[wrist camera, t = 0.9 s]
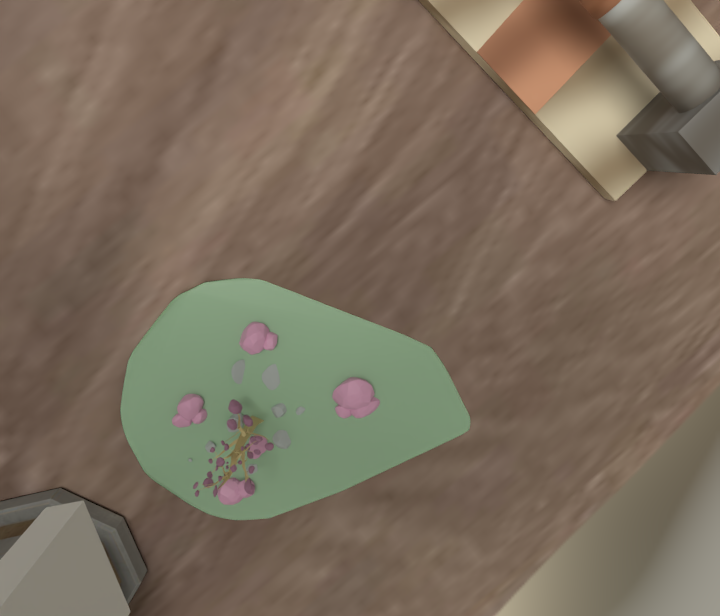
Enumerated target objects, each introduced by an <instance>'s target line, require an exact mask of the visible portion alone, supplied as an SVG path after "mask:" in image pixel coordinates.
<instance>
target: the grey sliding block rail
mask: <svg viewBox="0 0 720 616" xmlns="http://www.w3.org/2000/svg"><path fill="white" fill-rule="evenodd" d="M419 1H420V3H421V4H422V5H423V6H424V7H425V8H426V9H427V10H428V11H429V12H430V13H431V14H432V15H433V16H434V17H435V19H436V20H437V21H438V22H439V23H440V24H441V25H442V26H443V27H444V28H445V29H446V30H447V31H448V32H449V33H450V34H451V36H452V37H453V38H454V39H455V40H456V41H457V42H458V43H459V44H460V45H461V46H462V47H463V48H464V49H465V50H466V51H467V53H468V54H469V55H470V56H471V57H472V58H473V59H474V60H475V61H476V62H477V63H478V64H479V65H480V66H481V67H482V69H483V70H484V71H485V72H486V73H487V74H488V75H489V76H490V77H491V78H492V79H493V80H494V81H495V82H496V83H497V84H498V86H499V87H500V88H501V89H502V90H503V91H504V92H505V93H506V94H507V95H508V96H509V97H510V98H511V99H512V100H513V101H514V103H515V104H516V105H517V106H518V107H519V108H520V109H521V110H522V111H523V112H524V113H525V114H526V115H527V116H528V117H529V119H530V120H531V121H532V122H533V123H534V124H535V125H536V126H537V127H538V128H539V129H540V130H541V131H542V132H543V133H544V134H545V136H546V137H547V138H548V139H549V140H550V141H551V142H552V143H553V144H554V145H555V146H556V147H557V148H558V149H559V150H560V151H561V153H562V154H563V155H564V156H565V157H566V158H567V159H568V160H569V161H570V162H571V163H572V164H573V165H574V166H575V167H576V169H577V170H578V171H579V172H580V173H581V174H582V175H583V176H584V177H585V178H586V179H587V180H588V181H589V182H590V183H591V184H592V186H593V187H594V188H595V189H596V190H597V191H598V192H599V193H600V194H601V195H602V196H603V197H604V198H605V199H608V200H614V201H616V200H617V199H618V198H619V197H620V196H621V195H622V194H623V193H624V192H625V191H627V190H628V189H629V188H630V187H631V186H632V185H633V184H634V183H635V182H636V181H637V180H638V179H639V178H640V177H641V176H642V175H643V174H644V173H645V172H646V171H647V170H649V171H664V172H679V173H694V174H709V175H716V174H717V173H718V172H719V171H720V36H719V35H718V34H717V32H716V31H715V30H714V29H713V28H712V26H711V25H710V24H709V23H708V21H707V20H706V19H705V18H704V16H703V15H702V14H701V13H700V12H699V10H698V9H697V8H696V7H695V5H694V4H693V3H692V2H691V0H419Z"/></svg>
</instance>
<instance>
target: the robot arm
mask: <svg viewBox="0 0 720 616" xmlns="http://www.w3.org/2000/svg"><path fill="white" fill-rule="evenodd" d="M130 612H131V611H130V609H129V606H128V604H127V602H126V599H125V597H124V595H123V592H122V590H121V588H120V585H119V583H118V581H117V578H116V576H115V573H114V571H113V569H112V566H111V564H110V562H109V559H108V557H107V555H106V552H105V550H104V548H103V545H102V543H101V540H100V538H99V536H98V533H97V531H96V529H95V526H94V524H93V522H92V519H91V517H90V515H89V512H88V510H87V507H86V505H85V503H84V500H83V501H78V502H72V503H67V504H62V505H56V506H51V507H46V508H45V509H44V510H43V511H42V512H41V514H40V515H39V516H38V517H37V518H36V519H35V520H34V522H33V523H32V524H31V525H30V526H29V527H28V529H27V530H26V531H25V532H24V533H23V534H22V535H21V537H20V538H19V539H18V540H17V541H16V542H15V544H14V545H13V546H12V547H11V548H10V549H9V550H8V552H7V553H6V554H5V555H4V556H3V557H2V558H1V560H0V616H129V614H130Z"/></svg>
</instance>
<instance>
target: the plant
mask: <svg viewBox="0 0 720 616" xmlns="http://www.w3.org/2000/svg"><path fill="white" fill-rule="evenodd" d="M120 412H121V420H122V425H123V430H124V433H125V436H126V438H127V440H128V442H129V445H130V447H131V449H132V450H133V452H134V454H135V456H136V458H137V460H138V461H139V463H140V465H141V467H142V469H143V470H144V472H145V473H146V474H147V475H148V476H149V477H150V478H151V479H153V480H154V481H155V482H157V483H158V484H160V485H161V486H163V487H164V488H166V489H167V490H169V491H170V492H172V493H173V494H175V495H176V496H178V497H179V498H181V499H182V500H184V501H185V502H187V503H188V504H190V505H192V506H193V507H195V508H197V509H199V510H201V511H203V512H205V513H207V514H210V515H213V516H217V517H221V518H225V519H231V520H251V519H265V518H271V517H274V516H277V515H279V514H282V513H285V512H287V511H290V510H293V509H295V508H298V507H301V506H303V505H306V504H309V503H311V502H314V501H317V500H319V499H322V498H325V497H327V496H330V495H333V494H335V493H338V492H341V491H343V490H345V489H348V488H350V487H352V486H354V485H356V484H358V483H360V482H362V481H365V480H367V479H369V478H371V477H373V476H375V475H377V474H379V473H382V472H384V471H386V470H388V469H390V468H392V467H394V466H396V465H399V464H401V463H403V462H405V461H407V460H409V459H411V458H413V457H416V456H418V455H420V454H422V453H424V452H426V451H428V450H430V449H433V448H435V447H437V446H439V445H441V444H443V443H445V442H447V441H450V440H452V439H454V438H456V437H458V436H460V435H462V434H464V433H465V432H467V431H468V430H469V428H470V416H469V414H468V412H467V410H466V408H465V406H464V404H463V402H462V400H461V398H460V396H459V394H458V392H457V390H456V388H455V386H454V384H453V382H452V380H451V378H450V375H449V374H448V372H447V370H446V368H445V367H444V365H443V363H442V362H441V360H440V359H439V357H438V356H437V355H436V353H435V352H434V351H433V349H432V348H431V347H429V346H427V345H425V344H423V343H421V342H418V341H416V340H414V339H412V338H410V337H407V336H405V335H403V334H400V333H398V332H395V331H393V330H390V329H387V328H385V327H382V326H380V325H377V324H375V323H372V322H369V321H367V320H364V319H362V318H359V317H357V316H354V315H351V314H349V313H346V312H344V311H341V310H338V309H336V308H333V307H331V306H328V305H326V304H323V303H320V302H318V301H315V300H313V299H310V298H307V297H305V296H302V295H300V294H297V293H295V292H292V291H289V290H287V289H284V288H282V287H279V286H277V285H274V284H271V283H269V282H266V281H263V280H259V279H248V278H237V279H226V280H218V281H210V282H205V283H202V284H200V285H198V286H196V287H194V288H192V289H190V290H188V291H186V292H184V293H182V294H180V295H179V296H177V297H176V298H175V299H173V300H172V301H171V302H170V304H169V305H168V306H167V307H166V309H165V310H164V311H163V312H162V314H161V315H160V316H159V317H158V319H157V320H156V321H155V323H154V324H153V325H152V327H151V328H150V329H149V330H148V332H147V333H146V334H145V336H144V337H143V338H142V340H141V341H140V342H139V344H138V345H137V346H136V348H135V349H134V351H133V352H132V354H131V356H130V358H129V361H128V365H127V370H126V375H125V380H124V386H123V393H122V400H121V409H120Z"/></svg>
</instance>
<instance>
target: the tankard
mask: <svg viewBox="0 0 720 616" xmlns="http://www.w3.org/2000/svg"><path fill="white" fill-rule="evenodd" d="M83 500H84V503H85V505H86V507H87V510H88V512H89V515H90V517H91V519H92V522H93V524H94V526H95V529H96V531H97V533H98V536H99V538H100V540H101V543H102V545H103V548H104V550H105V552H106V555H107V557H108V559H109V562H110V564H111V566H112V569H113V571H114V573H115V576H116V578H117V581H118V583H119V585H120V588H121V590H122V592H123V595H124V597H125V599H126V602H127V604H129V602H130V601H131V599H132V597H133V596H134V594H135V592H136V591H137V589H138V587H139V585H140V584H141V582H142V580H143V578H144V576H145V574H146V572H147V569H146V566H145V564H144V562H143V560H142V558H141V555H140V553H139V551H138V549H137V547H136V544H135V542H134V540H133V538H132V536H131V533H130V531H129V529H128V527H127V525H126V522H125V520H124V518H123V517H121V516H119V515H117V514H115V513H113V512H110V511H108V510H106V509H104V508H102V507H100V506H98V505H95V504H93V503H91V502H89V501H87V500H85V499H83V498H81V497H78V496H76V495H74V494H72V493H70V492H68V491H66V490H63V489H61V488H58V489H54V490H49V491H45V492H40V493H36V494H32V495H27V496H23V497H18V498H14V499H10V500H5V501H1V502H0V560H1V558H2V557H3V556H4V555H5V554H6V553H7V552H8V550H9V549H10V548H11V547H12V546H13V545H14V544H15V542H16V541H17V540H18V539H19V538H20V537H21V535H22V534H23V533H24V532H25V531H26V530H27V529H28V527H29V526H30V525H31V524H32V523H33V522H34V520H35V519H36V518H37V517H38V516H39V515H40V514H41V512H42V511H43V510H44V509H45V508H46V507H51V506H56V505H62V504H67V503H72V502H78V501H83Z"/></svg>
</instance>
